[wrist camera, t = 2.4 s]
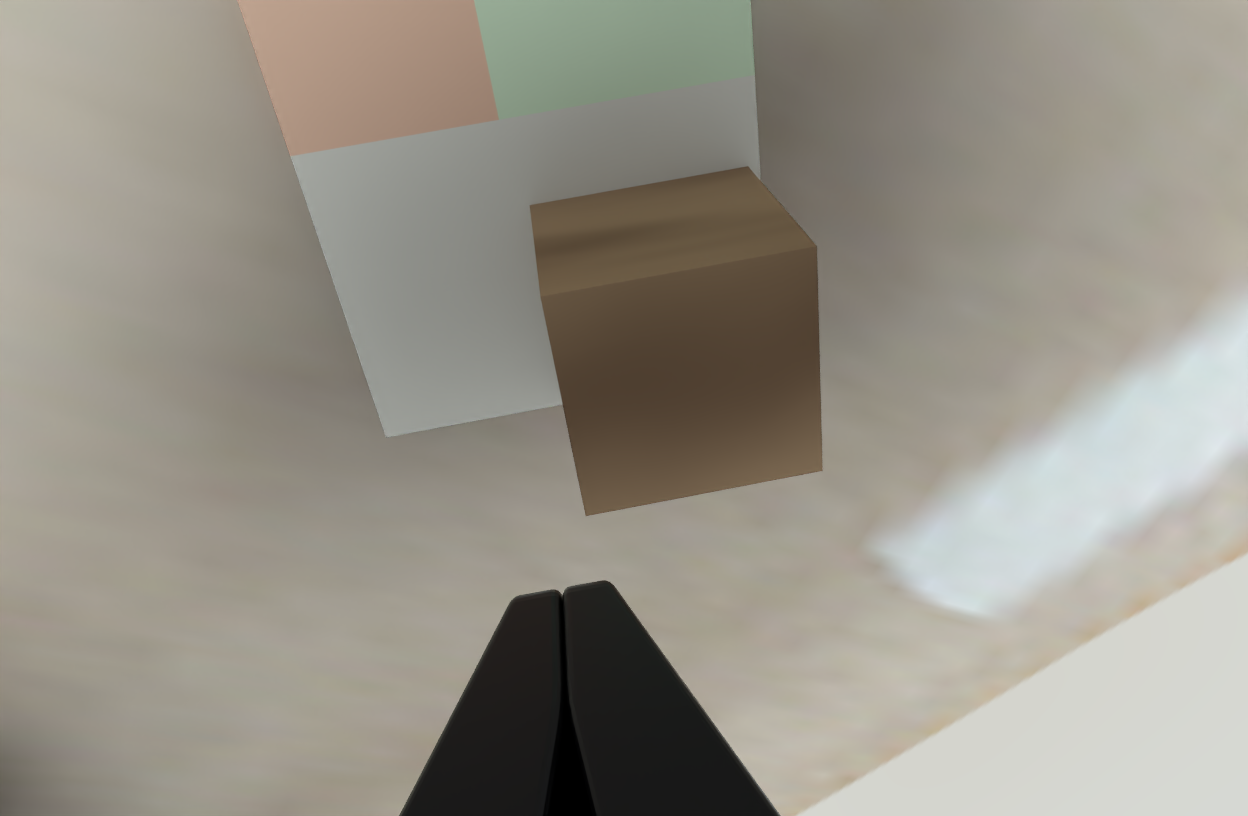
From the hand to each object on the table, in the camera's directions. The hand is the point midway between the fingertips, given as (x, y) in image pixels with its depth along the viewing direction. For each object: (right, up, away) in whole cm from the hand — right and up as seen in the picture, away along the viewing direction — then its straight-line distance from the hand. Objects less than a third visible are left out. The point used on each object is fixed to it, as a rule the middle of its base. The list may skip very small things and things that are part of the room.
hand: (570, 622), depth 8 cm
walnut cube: (+1, +4, +12) cm, 12 cm away
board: (-1, +8, +10) cm, 13 cm away
